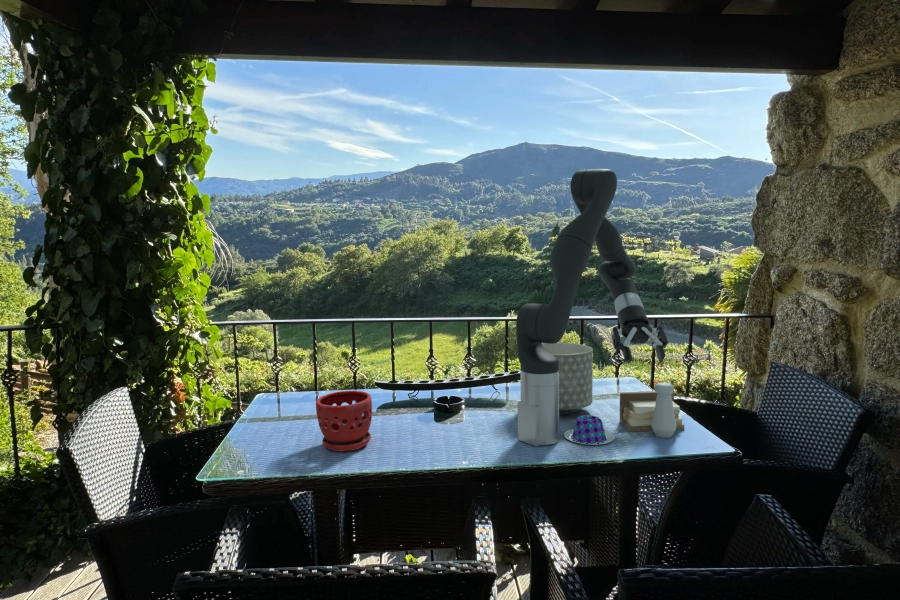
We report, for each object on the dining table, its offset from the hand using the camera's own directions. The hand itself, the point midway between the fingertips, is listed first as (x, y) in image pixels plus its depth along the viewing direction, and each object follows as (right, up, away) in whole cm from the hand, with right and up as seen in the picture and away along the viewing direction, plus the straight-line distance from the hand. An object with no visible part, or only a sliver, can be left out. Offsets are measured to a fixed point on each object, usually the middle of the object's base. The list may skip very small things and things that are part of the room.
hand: (646, 360), depth 146 cm
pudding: (-18, -18, -10) cm, 28 cm away
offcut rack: (0, -17, -2) cm, 17 cm away
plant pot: (-77, -19, -13) cm, 81 cm away
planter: (-21, -16, +13) cm, 29 cm away
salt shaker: (+1, -18, -10) cm, 20 cm away
